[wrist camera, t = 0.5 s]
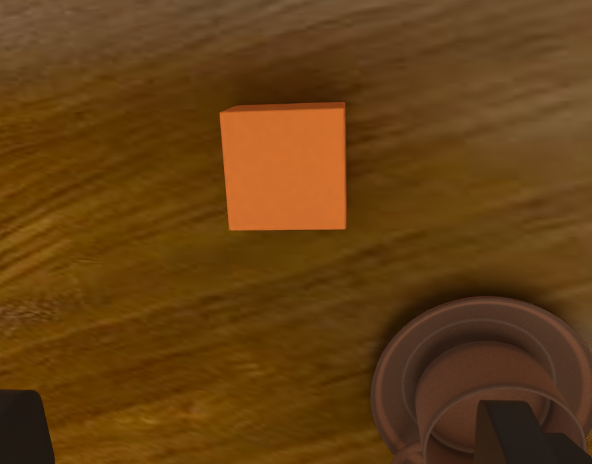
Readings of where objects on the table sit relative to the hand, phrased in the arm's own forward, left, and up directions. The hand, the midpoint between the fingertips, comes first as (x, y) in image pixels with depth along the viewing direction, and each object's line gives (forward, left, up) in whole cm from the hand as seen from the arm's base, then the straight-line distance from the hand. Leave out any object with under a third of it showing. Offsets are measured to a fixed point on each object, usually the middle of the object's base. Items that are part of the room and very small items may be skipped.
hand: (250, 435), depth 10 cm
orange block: (-2, -1, -20) cm, 20 cm away
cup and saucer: (+11, +9, -20) cm, 24 cm away
